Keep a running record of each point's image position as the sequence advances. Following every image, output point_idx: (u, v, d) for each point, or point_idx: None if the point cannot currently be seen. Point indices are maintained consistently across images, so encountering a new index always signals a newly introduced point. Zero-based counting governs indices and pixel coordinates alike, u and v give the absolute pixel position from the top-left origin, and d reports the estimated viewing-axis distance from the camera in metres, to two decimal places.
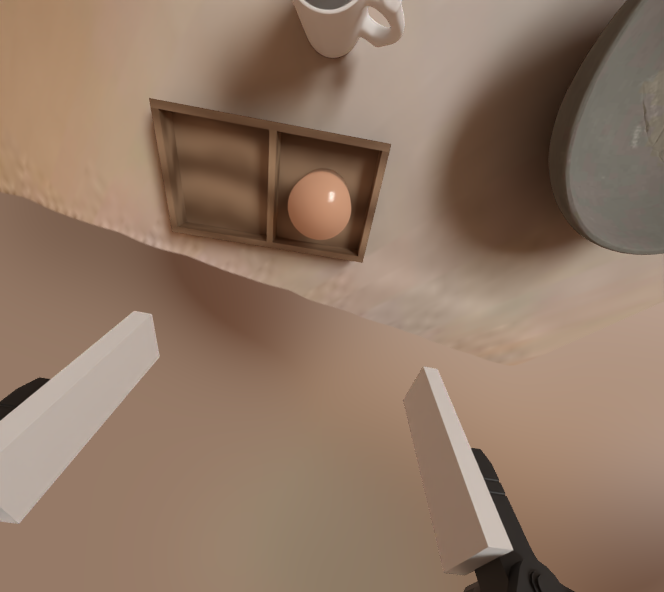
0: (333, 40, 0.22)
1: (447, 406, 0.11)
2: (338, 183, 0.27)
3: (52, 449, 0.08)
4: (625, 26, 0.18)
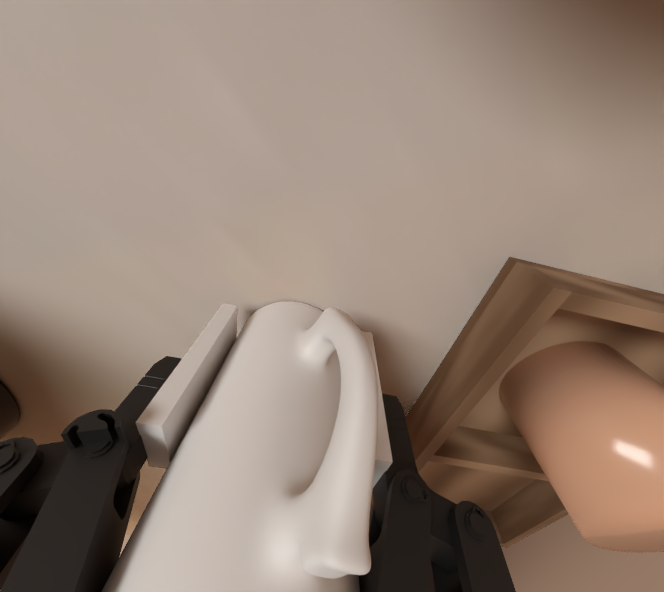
0: None
1: None
2: (654, 496, 0.09)
3: (189, 412, 0.10)
4: None
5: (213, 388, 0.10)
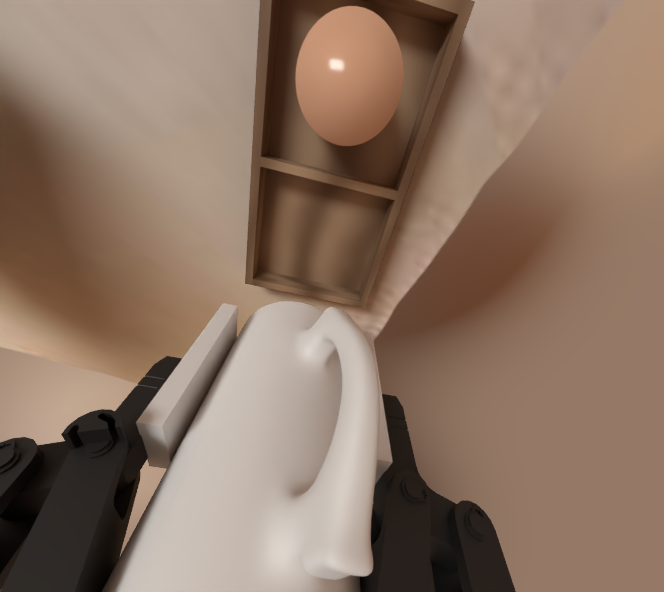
0: None
1: None
2: (309, 36, 0.15)
3: (189, 412, 0.10)
4: None
5: (213, 388, 0.10)
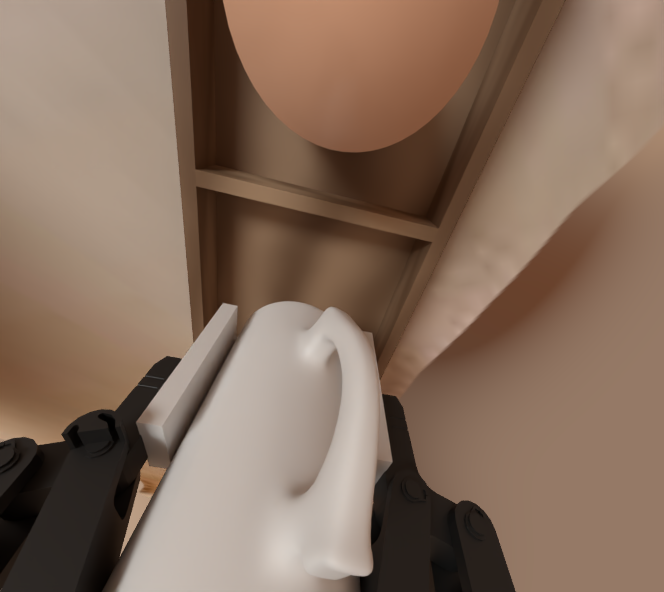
0: None
1: None
2: None
3: (189, 412, 0.10)
4: None
5: (213, 388, 0.10)
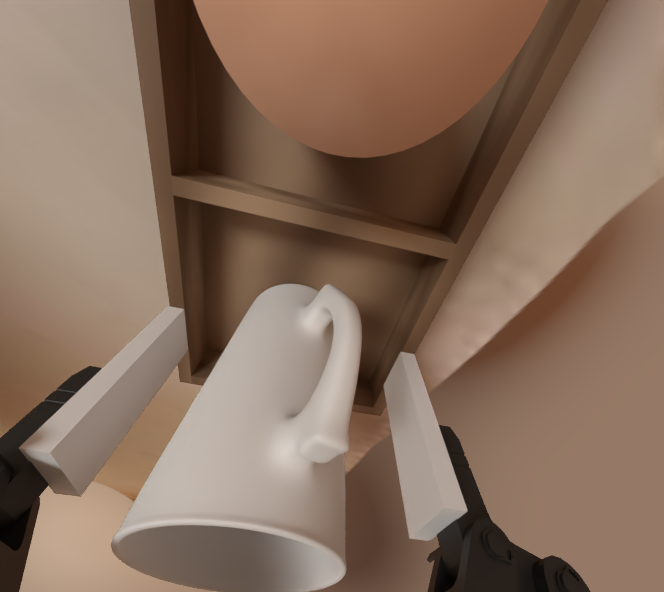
0: None
1: (420, 387, 0.11)
2: None
3: (107, 430, 0.08)
4: None
5: (226, 350, 0.12)
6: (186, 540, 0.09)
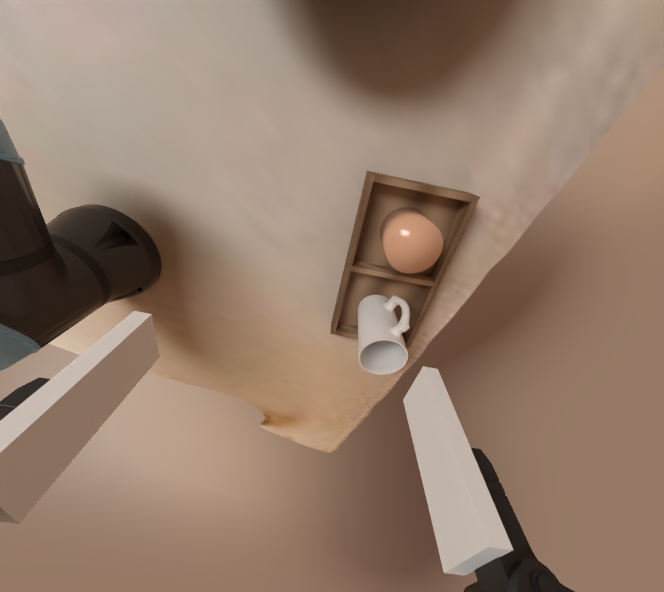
0: None
1: (447, 406, 0.11)
2: (395, 231, 0.31)
3: (52, 449, 0.08)
4: None
5: (364, 316, 0.39)
6: (364, 362, 0.37)
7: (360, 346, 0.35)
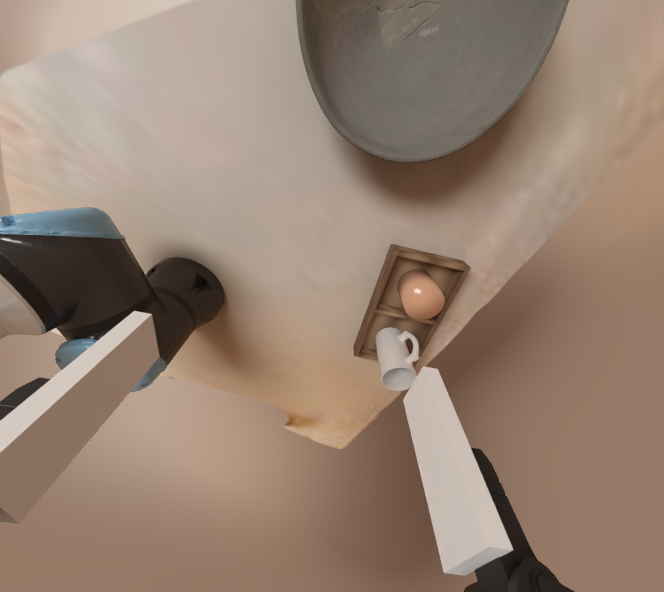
0: None
1: (447, 406, 0.11)
2: (412, 292, 0.44)
3: (52, 449, 0.08)
4: (366, 150, 0.31)
5: (383, 346, 0.53)
6: (384, 381, 0.50)
7: (382, 370, 0.48)
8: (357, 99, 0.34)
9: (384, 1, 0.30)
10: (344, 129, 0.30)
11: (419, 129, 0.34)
